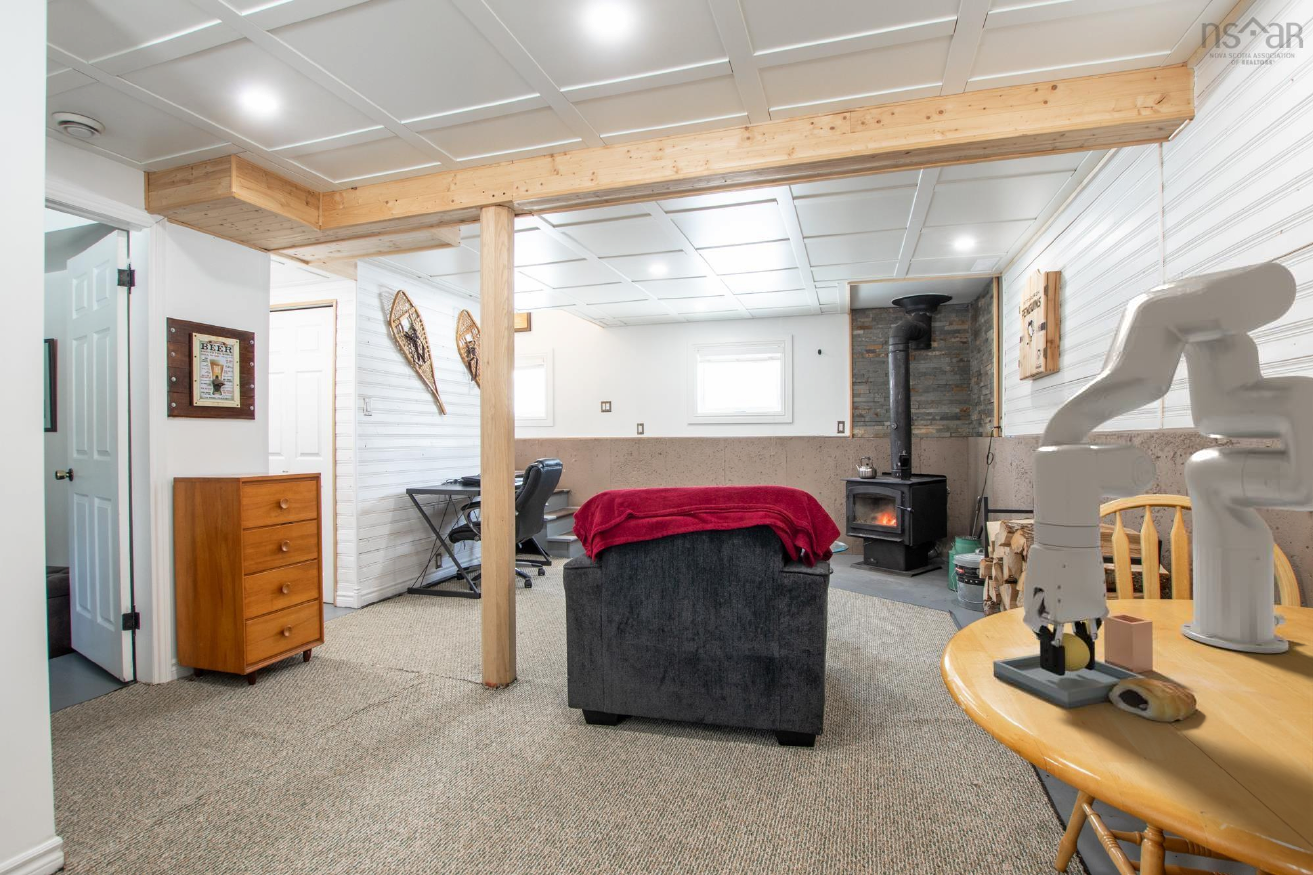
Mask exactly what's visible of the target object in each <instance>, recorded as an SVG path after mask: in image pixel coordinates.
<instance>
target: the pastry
mask: <svg viewBox="0 0 1313 875" xmlns="http://www.w3.org/2000/svg"><path fill="white" fill-rule="evenodd" d="M1109 699H1110V700H1109V701H1111V702H1112V705H1113V706H1116V707H1117V708H1118V709H1121V710H1122V711H1126V712H1128V713H1131V714H1134V715H1138V716H1140V717H1142V718H1144V719H1148V720H1151V721H1155V722H1156V721H1157V722H1159V723H1167V722H1168V723H1171V722H1172V723H1173V722H1174V721H1176V720H1179V721H1183V720H1185V719H1186V718H1188V717H1190V716H1191V715H1193V714H1194V713H1195V712H1196V710H1197V709H1196V708H1197V703H1198V702H1197V701H1198V700H1197V698H1196V697H1195V695H1194V693H1192V692H1191V691H1187V690H1186V689H1184V688H1183V687H1180V686H1178V685H1177V684H1174V683H1172V682H1165V681H1162V680H1157V679H1150V678H1147V677H1146V678H1137V677H1134V678H1132V679H1122V680H1121V681H1120V682H1119V683H1118V684H1117V686H1115V687H1114V688H1113V690H1112V691H1111V692H1110V693H1109Z"/></svg>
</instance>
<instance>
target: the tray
mask: <svg viewBox="0 0 1313 875" xmlns="http://www.w3.org/2000/svg"><path fill="white" fill-rule="evenodd" d="M992 662H993V663H992V664H993V666H992V668H993V676H994V677H996V678H999V679H1000V680H1003V681H1005V682H1008V683H1009V684H1012V685H1014V686H1016V687H1018V688H1021V689H1023V690H1025V691H1027V692H1029V693H1032V694H1034V695H1037V696H1038V697H1040V698H1043V699H1045V700H1048V701H1049V700H1050V701H1049V702H1052V703H1054V704H1057V705H1059V706H1061V707H1063V708H1065V709H1067V710H1068V709H1069V710H1070V709H1075V708H1079V707H1082V706H1083V707H1085V706H1089V705H1095V704H1099V703H1103V702H1107V701H1111V700H1110V699H1109V693H1110V692H1111V691H1112V690H1113V688H1114V687H1115V686H1117V684H1118V683H1119V682H1120V681H1121V680H1122V679H1132V678H1134V677H1137V678H1147V677H1146V676H1143V675H1140V674H1137V673H1132V672H1129V671H1126V670H1124V669H1121V668H1118V667H1115V666H1112V665H1109V664H1107V663H1105V661H1104V662H1103V661H1101V660H1098V659H1095V670H1091V671H1090V670H1087V669H1084V668H1083V669H1081V670H1079V671H1074V672H1070V671H1065V675H1064V676H1059V675H1056V674H1054V673H1051V672H1049V671H1046V670H1044V669H1042V668H1041V667H1040V653H1037V654H1030V655H1025V656H1018V657H1012V658H1006V659H1000V660H994V661H992Z"/></svg>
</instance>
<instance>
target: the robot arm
mask: <svg viewBox="0 0 1313 875" xmlns="http://www.w3.org/2000/svg"><path fill="white" fill-rule="evenodd" d="M1296 296H1297V282H1296V279H1295V277H1294V275H1293V273H1292V272H1291V270H1289V269H1288V268H1287V267H1286V266H1285V265H1283V264H1281V263H1278V262H1270V261H1269V262H1268V261H1267V262H1259V263H1256V264H1255V263H1254V264H1249V265H1245V266H1240V267H1239V266H1238V267H1234V268H1229V269H1223V270H1219V271H1216V272H1215V271H1214V272H1209V273H1203V274H1198V275H1193V276H1189V277H1184V278H1183V277H1182V278H1180V279H1176V280H1172V281H1168V282H1166V283H1164V284H1160V285H1158V286H1156V287H1155V288H1153V289H1152V290H1150V291H1146V292H1144V293H1142V294H1140V295H1137V296H1136V297H1134V298H1133V299H1131V300H1130V301H1129V302H1127V304H1126V306H1125V308H1124V309H1123V311H1122V313H1121V316H1120V320H1119V322H1118V325H1117V327H1116V329H1115V332H1114V335H1113V337H1112V340H1111V343H1110V346H1109V348H1108V350H1107V353H1106V356H1105V359H1104V361H1103V364H1102V367H1101V369H1100V371H1099V373H1098V376H1097V377H1096V378H1094V379H1093V380H1092V381H1090V382H1089V383H1088V384H1087V385H1085V386H1084V387H1082V388H1080V390H1079V391H1077V392H1076V393H1075V394H1073V396H1072V397H1070V398H1069V399H1068V400H1067V401H1066V402H1064V403H1063V404H1062V405H1061V406H1060V407H1059V408H1058V409H1057V410H1056V411H1055V412H1054V413H1053V414H1052V416H1051V417H1050V418H1049V419H1048V422H1047V424H1046V426H1045V428H1044V429H1043V430H1044V431H1043V432H1042V435H1041V438H1040V440H1039V443H1038V446H1037V449H1036V450H1035V451H1034V454H1033V462H1032V466H1033V467H1032V470H1033V472H1032V473H1033V478H1032V479H1033V480H1032V481H1033V544H1031V545H1030V546H1029V550H1028V554H1027V559H1026V565H1025V572H1024V585H1023V610H1024V613H1025V614H1024V616H1023V618H1022V623H1024V624H1025V625H1026V626H1027V627H1028V628H1029V629H1031V631H1032V632H1033V633H1034V635H1035V638H1036V640H1038V641H1039V654H1040V667H1041V668H1042V669H1044V670H1046V671H1049V672H1051V673H1054V674H1056V675H1059V676H1064V675H1065V646H1062V645H1061V641H1062V636H1063V633H1064V629H1065V624H1070V625H1071V629H1072V633H1073V635H1075V636H1077V637H1079V638H1080V639H1081V640H1083V641H1084V643H1085V644H1086V645H1087V647H1088V649H1089V653H1090V659H1089V662H1088V664H1087V665H1086V666H1085V667H1084V669H1087V670H1090V671H1091V670H1095V660H1096V641H1097V640H1098V639H1099V633H1098V631H1099V630H1100V628H1101V626H1102V625H1103V623H1104V619H1105V618H1106V617H1107V616H1109V614H1110V609H1109V607H1108V605H1107V585H1106V582H1107V581H1106V573H1105V565H1104V564H1105V563H1104V558H1103V552H1102V548H1101V498H1112V499H1114V498H1115V499H1130V498H1134V497H1135V498H1136V497H1137V496H1140V495H1142V494H1144V493H1145V492H1146V493H1147V491H1148V490H1150V489H1151V487H1153V484H1154V482H1155V480H1156V479H1157V478H1156V477H1157V466H1156V463H1155V461H1154V458H1153V457H1152V455H1151V454H1149V453H1148V452H1147V451H1145V450H1144V448H1141V447H1139V446H1136V445H1132V444H1127V443H1106V442H1105V443H1104V442H1103V443H1099V442H1083V441H1084V439H1085V438H1086V437H1087V436H1088V435H1089V434H1090V433H1091V432H1092V431H1094V430H1095V429H1096V428H1098V427H1099V426H1101V425H1103V424H1104V423H1106V422H1108V421H1110V420H1112V419H1115V418H1117V417H1120V416H1123V415H1125V414H1128V413H1130V412H1133V411H1135V410H1139V409H1140V408H1143V407H1145V406H1148V405H1149V404H1152V403H1155V402H1156V401H1159V400H1160V399H1162V398H1164V396H1166V395H1167V394H1168V392H1169V391H1170V389H1171V387H1172V384H1173V381H1174V377H1175V375H1176V372H1177V370H1178V366H1179V363H1180V361H1181V358H1182V355H1184V358H1185V362H1186V363H1185V364H1186V370H1187V380H1188V391H1189V393H1188V394H1189V403H1190V404H1189V406H1190V412H1191V420H1192V425H1193V426H1194V429H1195V431H1197V433H1199V434H1200V435H1201V436H1204V437H1207V438H1212V439H1226V440H1280V441H1281V442H1282V444H1283V445H1284V447H1279V446H1278V447H1276V446H1275V447H1273V446H1272V447H1266V446H1264V447H1263V446H1215V447H1208V448H1204V449H1201V450H1198V451H1196V452H1194V453H1193V454H1192V455H1190V456H1189V457H1188V458H1187V461H1186V463H1185V466H1184V471H1183V472H1184V480H1185V485H1186V489H1187V492H1188V497H1189V503H1190V508H1191V517H1192V570H1193V571H1192V580H1193V581H1192V584H1193V586H1192V589H1193V590H1192V591H1193V592H1192V594H1193V595H1192V596H1193V598H1192V599H1193V600H1192V602H1193V604H1192V606H1193V614H1192V615H1193V621H1188V622H1185V623H1182V624H1181V626H1180V628H1181V634H1183V635H1184V636H1186V637H1188V638H1189V639H1191V640H1194V641H1196V642H1200V643H1202V644H1206V645H1210V646H1215V647H1218V648H1223V649H1227V650H1234V651H1239V652H1247V653H1257V654H1280V653H1285V652H1287V651H1288V650H1289V642H1288V640H1286V639H1285V638H1284V637H1282V636H1279V635H1277V634H1276V633H1275V627H1278V626H1283V625H1284V624H1286V617H1285V616H1283V615H1282V614H1281V613H1277V612H1276V613H1275V568H1274V567H1275V566H1274V565H1275V561H1274V560H1275V558H1274V557H1275V556H1274V555H1275V551H1274V550H1275V546H1274V545H1275V540H1274V536H1273V532H1272V530H1271V528H1270V527H1269V525H1268V524H1267V522H1266V521H1265V520H1264V518H1262V516H1261V515H1260V514H1259V513H1258V512H1257V511H1256V510H1255V509H1254V508H1256V509H1258V508H1261V509H1262V508H1263V509H1271V510H1272V509H1274V510H1284V511H1285V510H1287V511H1299V512H1301V511H1302V512H1313V377H1312V376H1308V375H1282V376H1272V377H1271V376H1270V377H1264V376H1263V375H1262V373H1261V366H1260V358H1259V349H1258V346H1257V343H1256V342H1255V341H1254V339H1253V338H1252V337H1251V336H1250V335H1249V334H1248V333H1251V332H1254V331H1255V330H1258V329H1260V328H1262V327H1265V326H1267V325H1269V324H1271V323H1274V322H1275V321H1277V320H1279V319H1281V318H1282V317H1283V316H1284V315H1286V313H1287V312H1288V311H1289V310H1290V309H1291V308H1292V306H1293V304H1294V302H1295V298H1296ZM1049 625H1052V626H1053V628H1052V630H1051V629H1050V628H1049Z"/></svg>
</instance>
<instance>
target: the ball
mask: <svg viewBox="0 0 1313 875" xmlns="http://www.w3.org/2000/svg"><path fill="white" fill-rule="evenodd" d="M1061 645H1062V646H1065V671H1070V672H1074V671H1079V670H1081V669H1083V668H1084V667H1085V666H1086V665H1087V664H1088V662H1089V659H1090V653H1089V649H1088V647H1087V645H1086V644H1085V643H1084V641H1083V640H1081V639H1080V638H1079V637H1077V636H1075V634H1074V633H1073V634H1072V633H1069V632H1063V636H1062V641H1061Z"/></svg>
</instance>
